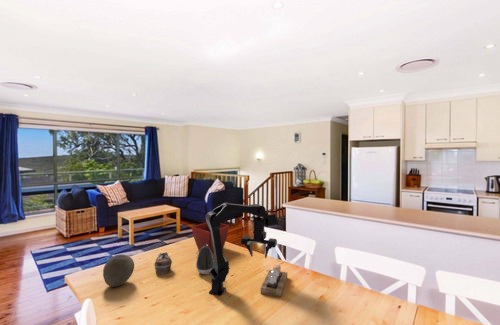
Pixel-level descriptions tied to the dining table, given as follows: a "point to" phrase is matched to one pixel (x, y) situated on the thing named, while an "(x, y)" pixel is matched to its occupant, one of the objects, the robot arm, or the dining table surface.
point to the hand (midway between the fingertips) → (258, 257)
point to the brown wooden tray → (278, 289)
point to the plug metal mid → (275, 273)
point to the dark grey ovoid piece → (205, 260)
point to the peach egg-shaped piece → (277, 268)
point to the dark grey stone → (118, 270)
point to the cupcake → (163, 263)
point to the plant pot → (208, 235)
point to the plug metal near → (272, 280)
